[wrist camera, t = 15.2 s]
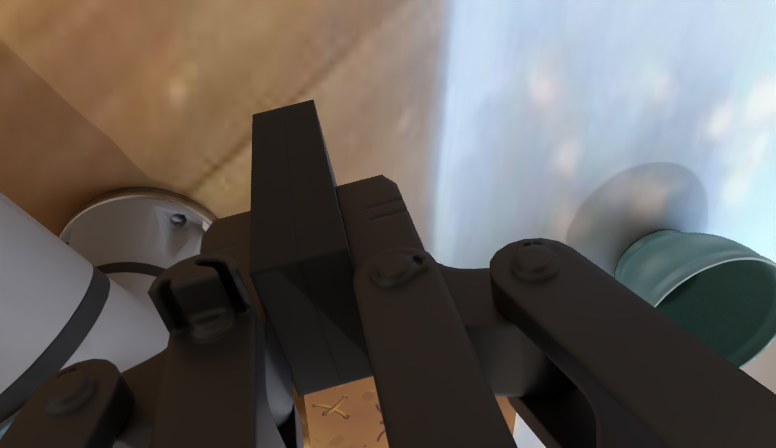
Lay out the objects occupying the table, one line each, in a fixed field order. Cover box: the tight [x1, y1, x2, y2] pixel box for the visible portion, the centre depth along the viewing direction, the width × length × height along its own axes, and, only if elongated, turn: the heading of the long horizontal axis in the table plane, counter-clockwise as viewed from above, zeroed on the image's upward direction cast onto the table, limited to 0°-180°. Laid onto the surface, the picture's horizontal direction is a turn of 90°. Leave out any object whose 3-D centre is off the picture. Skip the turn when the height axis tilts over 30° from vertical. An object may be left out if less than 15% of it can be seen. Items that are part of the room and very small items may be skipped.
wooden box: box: [304, 376, 516, 448], centre depth 66 cm, size 23×19×6 cm
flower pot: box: [615, 230, 776, 369], centre depth 62 cm, size 16×16×11 cm
